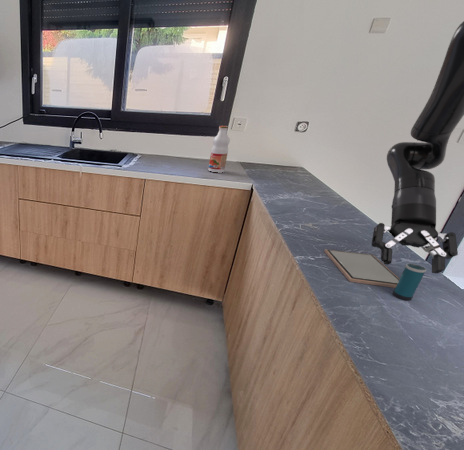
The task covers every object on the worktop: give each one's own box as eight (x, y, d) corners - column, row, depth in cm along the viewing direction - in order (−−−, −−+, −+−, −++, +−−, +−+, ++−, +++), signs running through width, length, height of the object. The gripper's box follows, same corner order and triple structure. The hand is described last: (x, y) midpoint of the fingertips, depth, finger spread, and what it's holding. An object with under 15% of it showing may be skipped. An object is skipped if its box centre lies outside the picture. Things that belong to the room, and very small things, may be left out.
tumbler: (406, 294, 77) (420, 264, 74) (414, 301, 74) (430, 271, 71) (389, 291, 78) (403, 262, 75) (397, 299, 76) (411, 269, 72)
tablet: (371, 257, 94) (373, 254, 94) (407, 289, 79) (409, 286, 78) (324, 251, 98) (325, 248, 98) (349, 281, 83) (350, 278, 82)
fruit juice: (226, 173, 193) (235, 126, 182) (210, 173, 194) (218, 126, 183) (220, 169, 202) (228, 125, 191) (205, 170, 203) (212, 125, 192)
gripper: (382, 198, 80) (379, 256, 75) (464, 206, 73) (466, 271, 68) (369, 211, 86) (365, 265, 81) (443, 219, 79) (443, 279, 75)
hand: (411, 268), depth 75 cm, fingers open, 8 cm apart
